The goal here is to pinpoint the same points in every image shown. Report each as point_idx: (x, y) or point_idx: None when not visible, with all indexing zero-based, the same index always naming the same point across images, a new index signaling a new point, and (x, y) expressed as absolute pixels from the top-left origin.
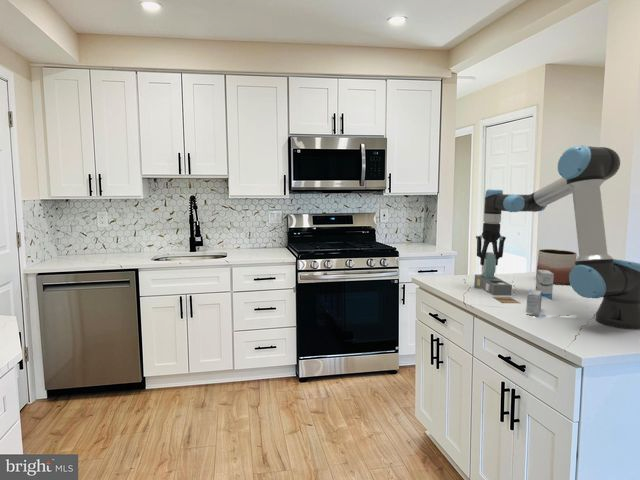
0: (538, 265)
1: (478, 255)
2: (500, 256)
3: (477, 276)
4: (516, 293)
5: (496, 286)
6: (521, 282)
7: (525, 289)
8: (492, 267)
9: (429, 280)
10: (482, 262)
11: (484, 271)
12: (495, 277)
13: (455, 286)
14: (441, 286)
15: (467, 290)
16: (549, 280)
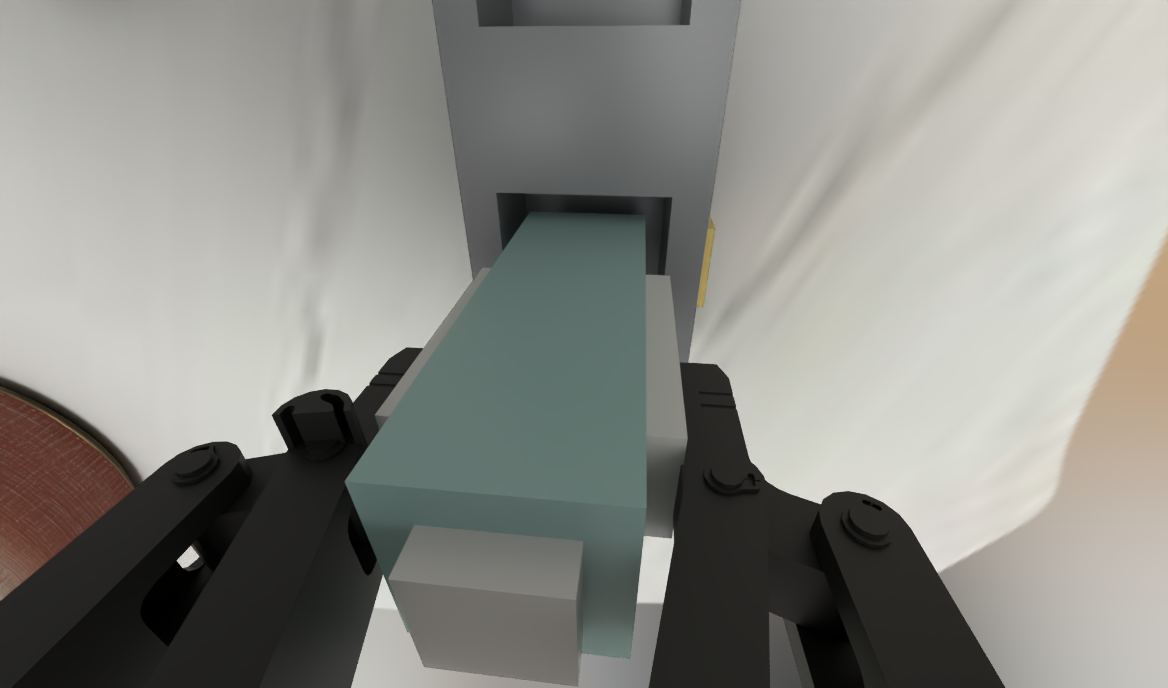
0: (24, 574)
1: (914, 551)
2: (221, 464)
3: (689, 345)
4: (328, 51)
5: None
6: (244, 442)
7: (224, 236)
8: (520, 289)
9: (947, 523)
10: (712, 399)
11: (659, 283)
12: (486, 265)
13: (858, 346)
14: (1012, 349)
15: (842, 184)
16: None
